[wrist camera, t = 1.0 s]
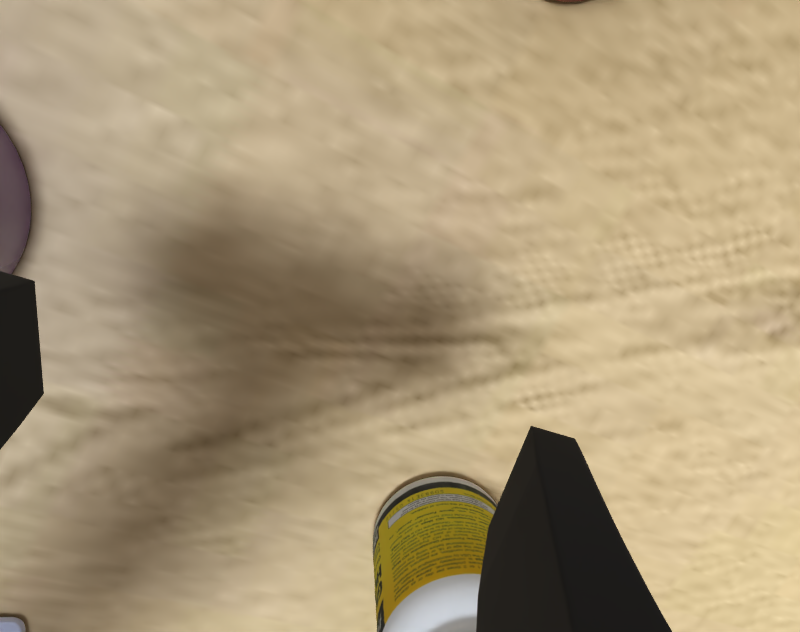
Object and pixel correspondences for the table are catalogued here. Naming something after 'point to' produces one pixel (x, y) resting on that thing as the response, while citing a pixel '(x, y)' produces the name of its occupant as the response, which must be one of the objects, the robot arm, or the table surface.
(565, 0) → the supplement bottle
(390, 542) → the pill bottle
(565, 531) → the robot arm
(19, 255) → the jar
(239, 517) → the table surface
